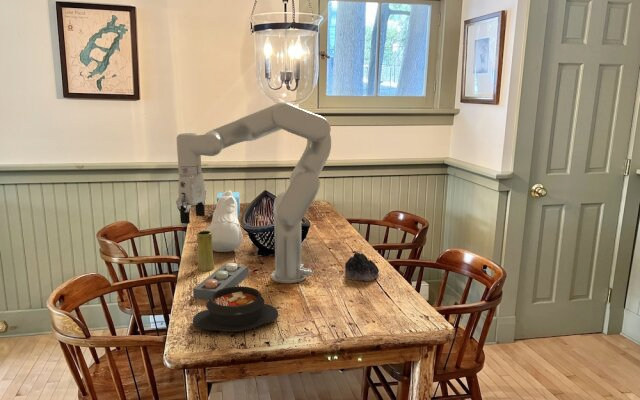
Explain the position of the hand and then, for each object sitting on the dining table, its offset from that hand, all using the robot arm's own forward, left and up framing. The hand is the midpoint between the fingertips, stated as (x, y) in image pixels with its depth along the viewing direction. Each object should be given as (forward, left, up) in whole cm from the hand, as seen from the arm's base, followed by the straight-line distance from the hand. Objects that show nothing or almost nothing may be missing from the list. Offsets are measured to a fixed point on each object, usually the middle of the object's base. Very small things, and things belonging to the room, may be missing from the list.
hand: (193, 219), depth 174 cm
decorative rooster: (+7, -37, -23) cm, 44 cm away
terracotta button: (-10, +9, -21) cm, 25 cm away
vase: (+3, -13, -23) cm, 27 cm away
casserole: (-26, +24, -23) cm, 43 cm away
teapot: (+26, -83, -23) cm, 90 cm away
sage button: (-10, +1, -21) cm, 23 cm away
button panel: (-10, +1, -23) cm, 25 cm away
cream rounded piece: (-10, -7, -21) cm, 24 cm away
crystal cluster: (-55, -22, -24) cm, 64 cm away
